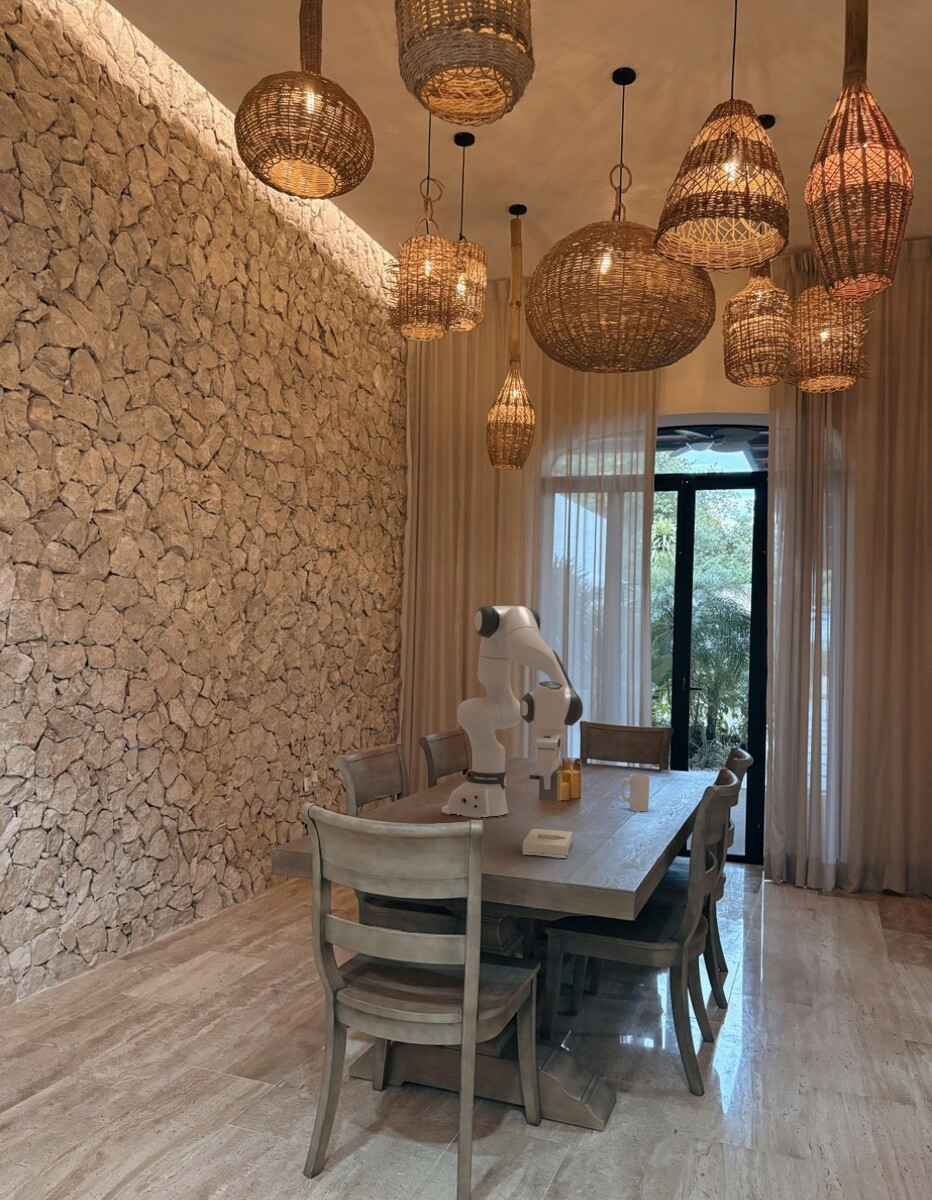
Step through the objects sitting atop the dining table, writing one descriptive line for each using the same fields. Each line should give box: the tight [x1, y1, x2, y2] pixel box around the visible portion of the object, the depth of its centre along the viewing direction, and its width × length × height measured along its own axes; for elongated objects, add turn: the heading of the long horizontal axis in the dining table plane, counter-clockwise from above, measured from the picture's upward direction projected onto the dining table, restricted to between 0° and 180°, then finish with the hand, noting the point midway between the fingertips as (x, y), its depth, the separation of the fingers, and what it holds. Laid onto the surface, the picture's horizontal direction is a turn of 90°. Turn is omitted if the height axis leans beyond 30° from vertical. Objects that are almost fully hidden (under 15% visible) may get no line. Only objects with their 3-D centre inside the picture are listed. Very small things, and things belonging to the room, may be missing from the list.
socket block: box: [522, 828, 574, 856], centre depth 257 cm, size 12×18×4 cm, turn 168°
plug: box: [529, 769, 563, 802], centre depth 258 cm, size 9×4×8 cm, turn 78°
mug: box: [620, 773, 650, 813], centre depth 318 cm, size 10×7×12 cm, turn 69°
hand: (548, 787), depth 258 cm, fingers closed on plug, 4 cm apart
